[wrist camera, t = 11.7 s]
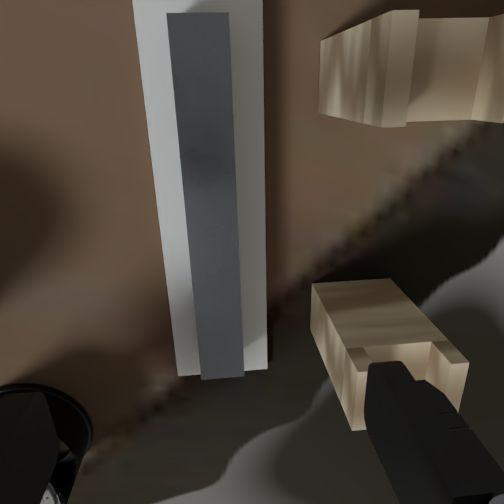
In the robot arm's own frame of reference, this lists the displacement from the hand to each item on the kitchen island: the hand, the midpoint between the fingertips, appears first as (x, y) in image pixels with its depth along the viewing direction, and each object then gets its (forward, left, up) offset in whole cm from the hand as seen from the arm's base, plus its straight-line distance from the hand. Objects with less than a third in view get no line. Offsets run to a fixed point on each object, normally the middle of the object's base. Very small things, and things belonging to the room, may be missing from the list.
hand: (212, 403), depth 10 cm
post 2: (+8, +10, -18) cm, 22 cm away
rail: (0, 0, -17) cm, 17 cm away
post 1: (-8, +10, -18) cm, 22 cm away
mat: (0, 0, -18) cm, 18 cm away
